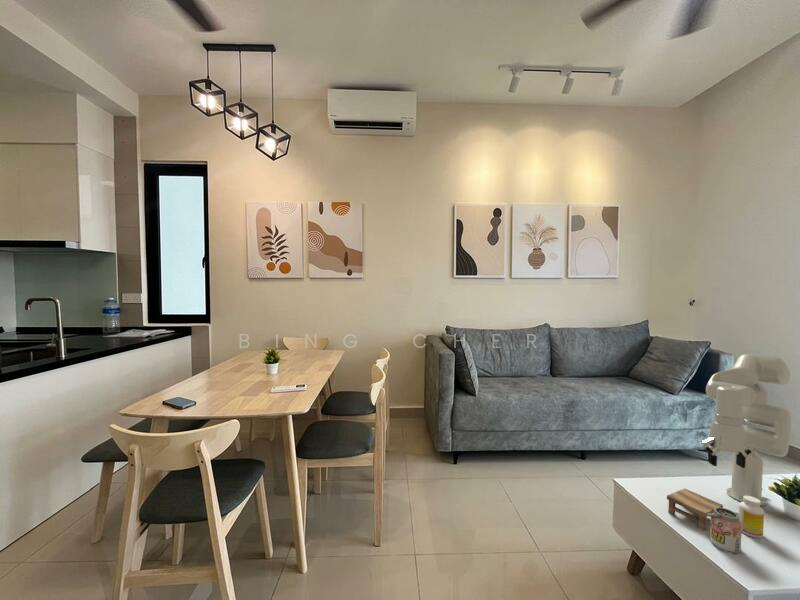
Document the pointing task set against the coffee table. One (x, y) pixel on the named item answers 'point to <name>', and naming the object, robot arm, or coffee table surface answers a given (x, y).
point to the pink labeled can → (725, 530)
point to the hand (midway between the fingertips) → (726, 465)
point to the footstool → (692, 505)
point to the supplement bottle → (751, 517)
